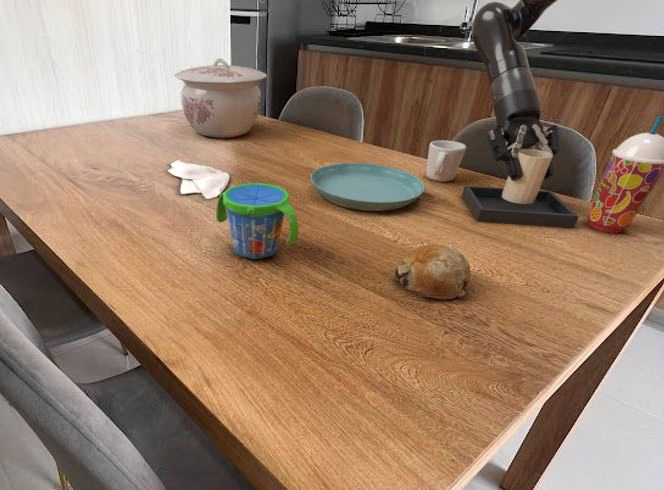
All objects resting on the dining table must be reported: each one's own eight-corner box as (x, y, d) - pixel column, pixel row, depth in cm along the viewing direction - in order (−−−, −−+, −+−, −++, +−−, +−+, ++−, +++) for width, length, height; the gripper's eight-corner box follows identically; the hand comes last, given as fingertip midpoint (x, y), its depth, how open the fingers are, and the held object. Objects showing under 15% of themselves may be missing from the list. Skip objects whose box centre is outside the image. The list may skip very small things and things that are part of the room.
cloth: (244, 195, 99) (244, 185, 97) (182, 201, 95) (181, 191, 94) (215, 160, 119) (215, 152, 117) (164, 165, 116) (163, 156, 114)
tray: (546, 202, 97) (551, 190, 95) (573, 228, 86) (579, 216, 85) (461, 196, 99) (464, 185, 98) (476, 221, 88) (480, 209, 87)
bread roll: (439, 325, 66) (480, 290, 61) (383, 283, 67) (417, 245, 62) (450, 294, 73) (487, 259, 68) (398, 256, 74) (431, 220, 69)
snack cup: (201, 245, 79) (199, 189, 73) (244, 227, 85) (244, 174, 79) (267, 278, 70) (270, 217, 64) (309, 256, 76) (315, 198, 70)
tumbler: (528, 194, 93) (545, 149, 88) (538, 205, 88) (557, 158, 83) (497, 192, 94) (513, 147, 89) (506, 202, 89) (523, 156, 84)
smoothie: (580, 214, 91) (630, 108, 80) (630, 224, 88) (690, 115, 76) (577, 229, 86) (631, 117, 74) (630, 240, 82) (696, 124, 70)
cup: (450, 190, 102) (460, 154, 98) (415, 183, 106) (423, 148, 101) (459, 177, 110) (469, 143, 105) (426, 171, 113) (434, 138, 109)
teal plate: (315, 215, 90) (316, 199, 88) (305, 175, 110) (306, 161, 108) (436, 217, 90) (440, 201, 88) (404, 177, 109) (407, 163, 107)
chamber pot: (255, 147, 129) (256, 66, 117) (165, 141, 134) (158, 62, 122) (272, 125, 151) (275, 54, 139) (195, 120, 156) (191, 51, 144)
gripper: (495, 87, 85) (513, 170, 82) (561, 86, 87) (581, 167, 84) (470, 111, 92) (486, 188, 89) (532, 109, 94) (549, 184, 92)
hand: (532, 177), depth 87 cm, fingers closed on tumbler, 6 cm apart
